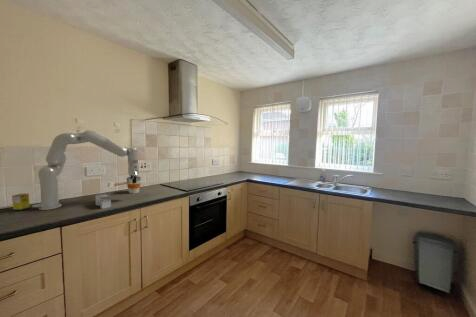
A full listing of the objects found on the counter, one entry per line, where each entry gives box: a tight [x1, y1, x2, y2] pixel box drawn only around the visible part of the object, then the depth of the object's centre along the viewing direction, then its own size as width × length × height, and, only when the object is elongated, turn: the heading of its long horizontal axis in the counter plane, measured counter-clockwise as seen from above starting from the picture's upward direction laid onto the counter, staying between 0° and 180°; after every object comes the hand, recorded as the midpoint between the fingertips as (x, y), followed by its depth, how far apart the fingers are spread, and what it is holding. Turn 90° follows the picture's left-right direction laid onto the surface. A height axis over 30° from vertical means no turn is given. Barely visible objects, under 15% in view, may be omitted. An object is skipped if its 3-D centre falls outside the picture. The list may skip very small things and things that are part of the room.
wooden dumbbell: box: [107, 179, 138, 188], centre depth 165 cm, size 22×4×4 cm, turn 142°
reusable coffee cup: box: [126, 176, 142, 194], centre depth 197 cm, size 13×13×15 cm
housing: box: [95, 193, 112, 209], centre depth 154 cm, size 6×14×8 cm, turn 52°
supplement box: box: [11, 193, 30, 211], centre depth 143 cm, size 6×6×11 cm
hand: (133, 182), depth 171 cm, fingers closed on wooden dumbbell, 4 cm apart
